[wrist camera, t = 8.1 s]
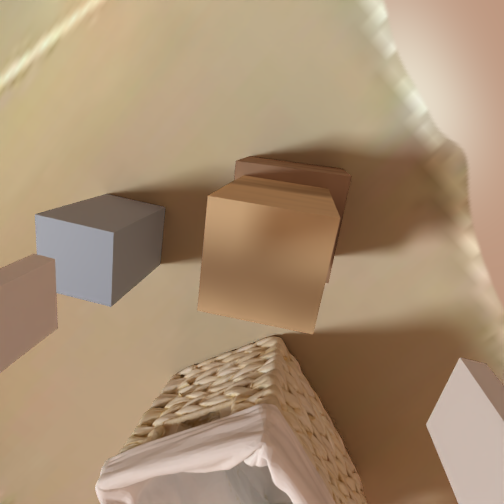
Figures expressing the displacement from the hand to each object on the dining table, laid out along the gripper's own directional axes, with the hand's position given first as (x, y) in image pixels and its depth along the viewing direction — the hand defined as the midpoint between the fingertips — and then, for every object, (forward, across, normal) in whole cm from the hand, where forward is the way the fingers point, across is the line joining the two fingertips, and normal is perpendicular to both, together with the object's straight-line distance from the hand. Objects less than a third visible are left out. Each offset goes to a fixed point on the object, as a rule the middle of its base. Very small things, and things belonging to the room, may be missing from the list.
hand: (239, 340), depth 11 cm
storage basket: (+20, +4, -25) cm, 32 cm away
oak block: (+14, 0, 0) cm, 15 cm away
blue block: (+20, -14, -5) cm, 25 cm away
